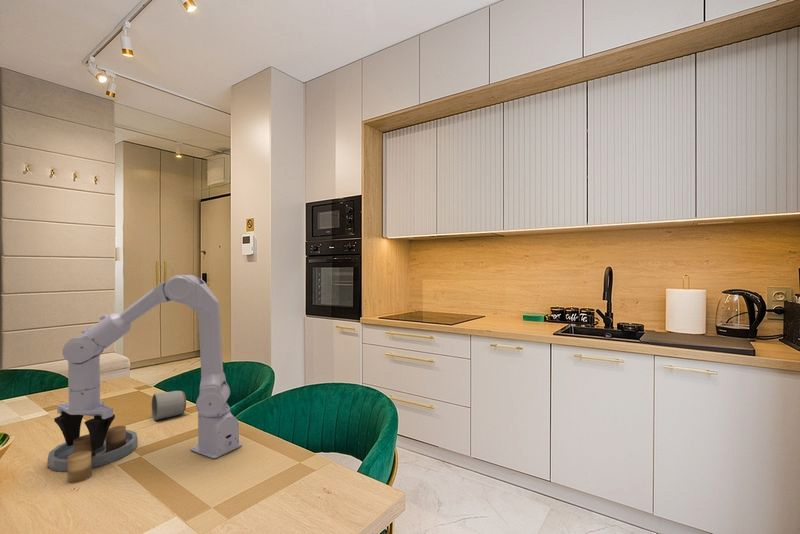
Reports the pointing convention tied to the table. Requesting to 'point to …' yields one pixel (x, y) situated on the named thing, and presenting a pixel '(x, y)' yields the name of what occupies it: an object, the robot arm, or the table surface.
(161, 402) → the ceramic mug
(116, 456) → the tray
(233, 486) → the table surface
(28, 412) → the table surface
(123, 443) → the bead
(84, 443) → the bead
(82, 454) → the bead
